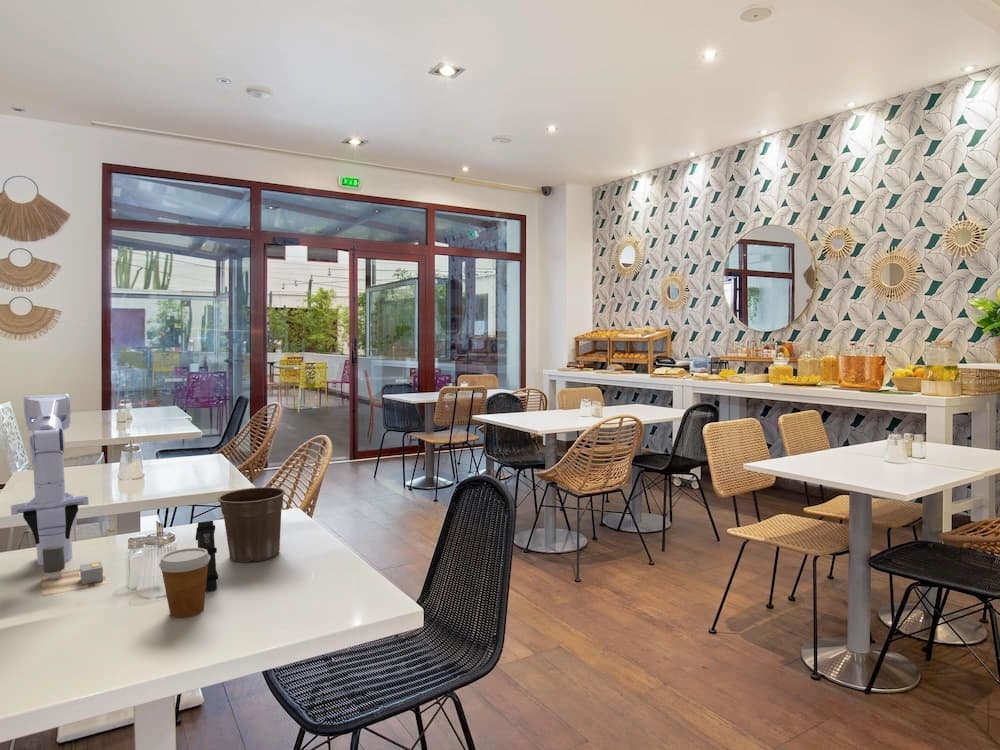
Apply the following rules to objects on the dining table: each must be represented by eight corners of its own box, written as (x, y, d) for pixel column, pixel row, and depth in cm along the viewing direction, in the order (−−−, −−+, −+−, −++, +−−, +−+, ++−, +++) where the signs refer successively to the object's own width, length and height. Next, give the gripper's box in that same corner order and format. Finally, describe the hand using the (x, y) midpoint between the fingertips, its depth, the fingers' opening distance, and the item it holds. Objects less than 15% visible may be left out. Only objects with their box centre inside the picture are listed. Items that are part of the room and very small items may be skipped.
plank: (41, 582, 151) (41, 575, 151) (101, 571, 158) (101, 564, 158) (42, 603, 139) (42, 595, 139) (107, 589, 146) (107, 582, 146)
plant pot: (205, 561, 164) (203, 498, 163) (252, 542, 179) (250, 485, 178) (255, 569, 158) (253, 504, 157) (300, 549, 173) (298, 489, 172)
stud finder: (80, 578, 149) (79, 564, 149) (101, 574, 151) (100, 560, 151) (82, 584, 145) (81, 570, 145) (102, 580, 147) (102, 566, 147)
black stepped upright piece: (200, 591, 140) (196, 522, 145) (198, 597, 151) (195, 533, 156) (219, 587, 142) (214, 519, 147) (216, 594, 153) (212, 531, 158)
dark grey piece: (44, 577, 150) (42, 547, 150) (64, 573, 152) (63, 544, 152) (44, 582, 147) (42, 552, 147) (65, 578, 149) (63, 548, 149)
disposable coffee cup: (161, 625, 127) (158, 565, 126) (161, 608, 135) (158, 551, 135) (214, 615, 131) (211, 557, 131) (211, 599, 140) (208, 544, 139)
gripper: (9, 489, 141) (12, 551, 142) (88, 480, 149) (91, 538, 150) (10, 484, 147) (13, 543, 147) (86, 475, 155) (88, 531, 156)
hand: (52, 540), depth 149 cm, fingers open, 5 cm apart
